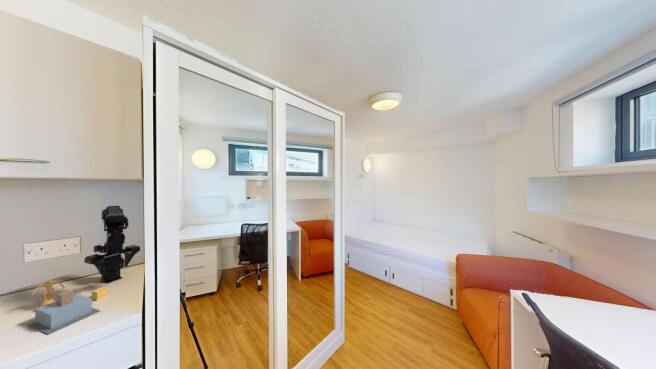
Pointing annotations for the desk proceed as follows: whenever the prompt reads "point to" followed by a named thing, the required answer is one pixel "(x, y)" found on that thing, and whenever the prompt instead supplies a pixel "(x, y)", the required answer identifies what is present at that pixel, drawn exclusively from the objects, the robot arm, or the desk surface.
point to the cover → (63, 309)
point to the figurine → (48, 288)
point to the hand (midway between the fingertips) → (114, 270)
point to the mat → (49, 331)
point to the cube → (100, 293)
